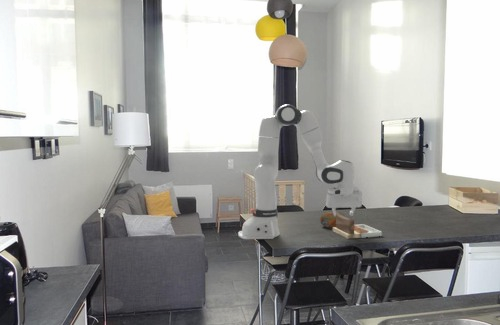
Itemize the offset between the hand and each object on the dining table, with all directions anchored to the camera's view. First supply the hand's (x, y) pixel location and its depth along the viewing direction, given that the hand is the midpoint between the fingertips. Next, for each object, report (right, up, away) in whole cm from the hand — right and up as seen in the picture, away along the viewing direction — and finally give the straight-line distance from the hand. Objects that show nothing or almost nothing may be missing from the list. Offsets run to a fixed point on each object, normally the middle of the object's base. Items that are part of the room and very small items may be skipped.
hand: (343, 215), depth 192 cm
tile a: (+7, -9, +6) cm, 13 cm away
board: (+2, -10, +1) cm, 10 cm away
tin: (-2, -9, +18) cm, 21 cm away
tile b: (+9, -9, -2) cm, 13 cm away
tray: (+12, -10, +3) cm, 16 cm away
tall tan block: (+1, -8, 0) cm, 8 cm away
